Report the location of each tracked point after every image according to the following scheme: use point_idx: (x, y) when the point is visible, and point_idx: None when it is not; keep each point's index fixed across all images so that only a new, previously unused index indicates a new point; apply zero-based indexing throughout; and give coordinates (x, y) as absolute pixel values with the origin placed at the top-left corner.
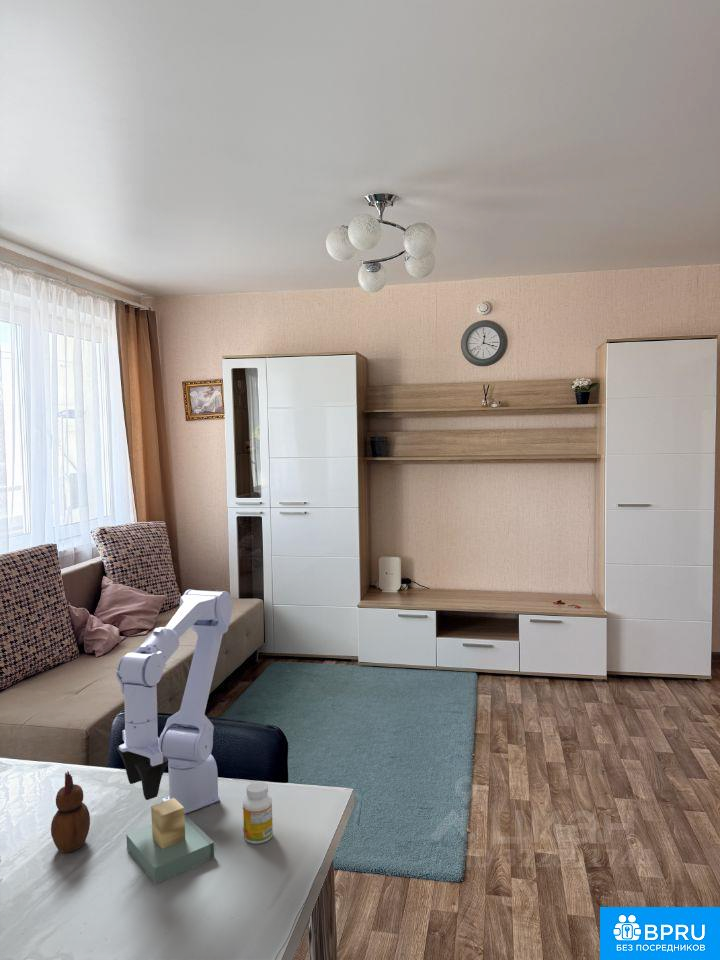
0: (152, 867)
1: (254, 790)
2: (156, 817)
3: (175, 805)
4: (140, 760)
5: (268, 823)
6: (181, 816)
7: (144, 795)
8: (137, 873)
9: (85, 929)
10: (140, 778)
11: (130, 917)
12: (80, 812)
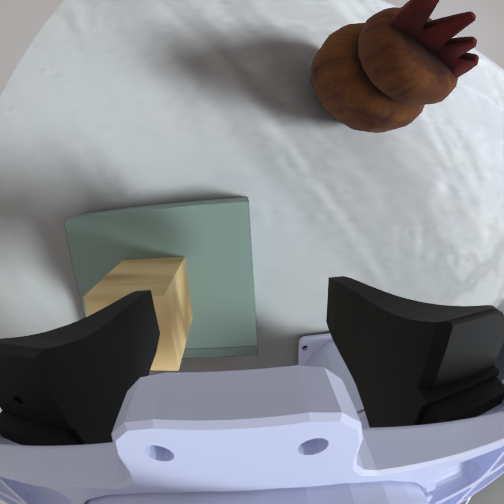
0: (74, 218)
1: None
2: (124, 287)
3: None
4: (363, 380)
5: None
6: None
7: (135, 293)
8: (132, 190)
9: (44, 76)
10: (330, 325)
11: (27, 150)
12: (355, 85)
